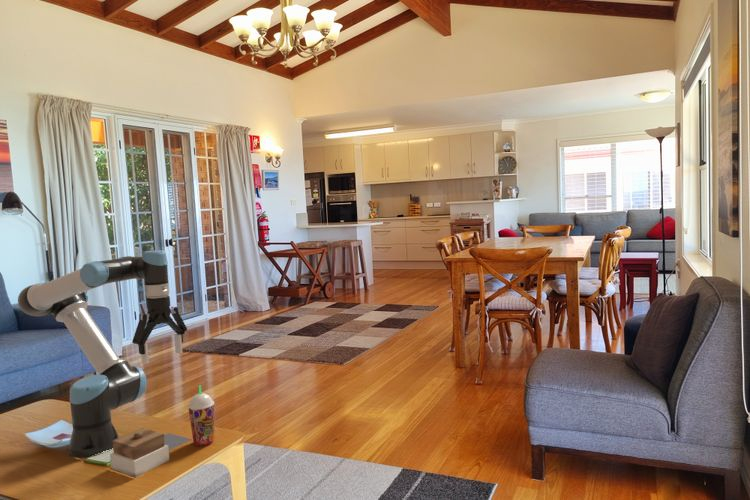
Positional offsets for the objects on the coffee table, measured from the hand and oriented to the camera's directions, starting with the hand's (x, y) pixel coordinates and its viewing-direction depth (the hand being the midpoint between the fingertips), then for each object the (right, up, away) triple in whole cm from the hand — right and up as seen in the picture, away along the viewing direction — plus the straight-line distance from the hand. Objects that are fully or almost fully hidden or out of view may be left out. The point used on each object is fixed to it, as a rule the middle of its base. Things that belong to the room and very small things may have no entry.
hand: (162, 358), depth 190 cm
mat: (+1, -29, -1) cm, 29 cm away
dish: (-1, -30, -16) cm, 34 cm away
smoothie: (+15, -29, -2) cm, 32 cm away
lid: (-1, -25, -16) cm, 30 cm away
